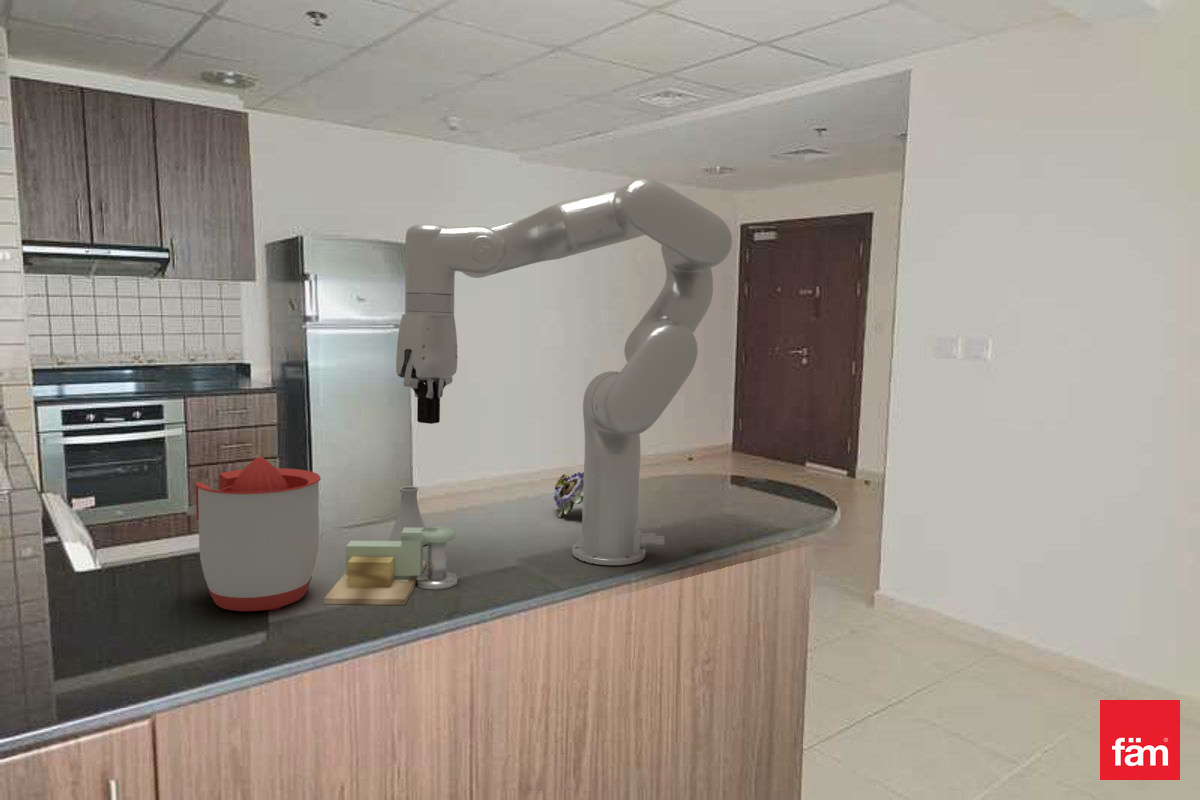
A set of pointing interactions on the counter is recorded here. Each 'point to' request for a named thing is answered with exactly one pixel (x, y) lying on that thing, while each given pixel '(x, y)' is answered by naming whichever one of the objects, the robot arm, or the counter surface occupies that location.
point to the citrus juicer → (258, 535)
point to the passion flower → (568, 492)
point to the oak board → (371, 593)
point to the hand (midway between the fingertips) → (428, 422)
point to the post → (437, 569)
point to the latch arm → (402, 548)
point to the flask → (407, 513)
